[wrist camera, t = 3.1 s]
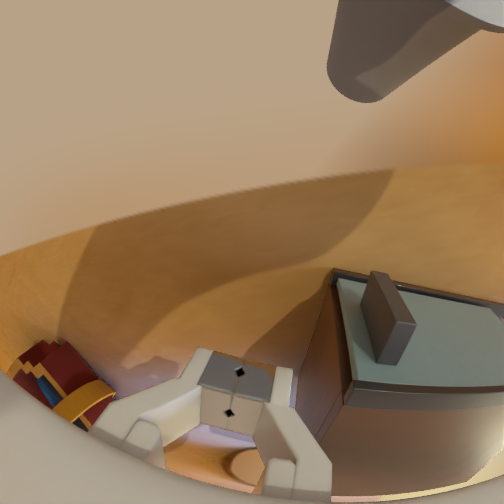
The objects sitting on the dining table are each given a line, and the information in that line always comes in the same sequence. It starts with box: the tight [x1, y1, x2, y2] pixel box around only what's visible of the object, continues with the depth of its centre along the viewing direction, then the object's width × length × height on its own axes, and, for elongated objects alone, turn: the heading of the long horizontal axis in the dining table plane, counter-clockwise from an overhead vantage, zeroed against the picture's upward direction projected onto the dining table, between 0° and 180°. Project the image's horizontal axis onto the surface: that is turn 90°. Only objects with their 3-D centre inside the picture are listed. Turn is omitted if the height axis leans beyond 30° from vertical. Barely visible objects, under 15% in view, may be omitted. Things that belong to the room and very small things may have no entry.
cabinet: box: [295, 268, 504, 496], centre depth 17 cm, size 12×25×13 cm, turn 81°
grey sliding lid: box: [337, 271, 504, 387], centre depth 15 cm, size 3×16×11 cm, turn 81°
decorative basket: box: [7, 340, 116, 432], centre depth 32 cm, size 34×29×15 cm
